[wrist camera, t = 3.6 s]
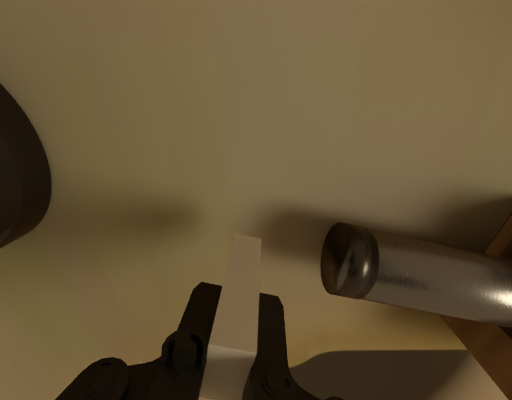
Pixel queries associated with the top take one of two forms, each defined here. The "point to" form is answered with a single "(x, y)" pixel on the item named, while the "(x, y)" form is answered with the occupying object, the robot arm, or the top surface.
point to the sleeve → (490, 328)
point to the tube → (417, 274)
